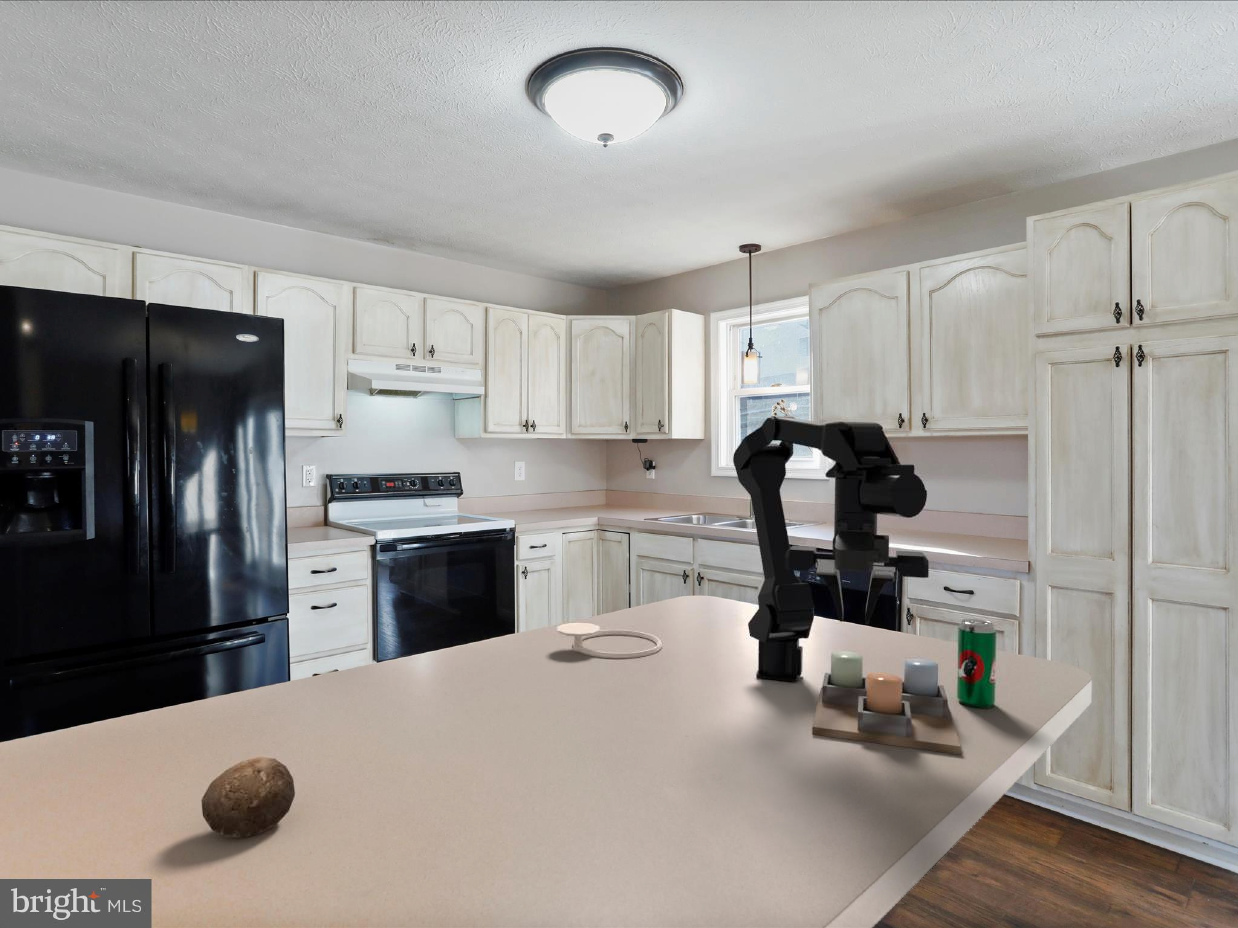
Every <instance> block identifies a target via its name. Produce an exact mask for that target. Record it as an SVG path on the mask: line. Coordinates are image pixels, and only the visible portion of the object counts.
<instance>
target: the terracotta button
mask: <svg viewBox="0 0 1238 928" xmlns="http://www.w3.org/2000/svg"><path fill="white" fill-rule="evenodd" d="M866 677H867V691H866V707H867V708H868V709H869V710H871V711H873V712H877V713H884V714H898V713H901V712H902V681H903V679H902V677H900V676H898V675H895V674H891V673H886V672H885V673H884V672H872V673H869V674H866Z"/></svg>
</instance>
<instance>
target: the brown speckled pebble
mask: <svg viewBox="0 0 1238 928" xmlns="http://www.w3.org/2000/svg"><path fill="white" fill-rule="evenodd" d="M294 783H295V781H294V777H293V776H292V774H291V772H290V771H289V769H288V767H287V766H286V765H284V764H283V763H282V762H280V761H279V760H277V759H276V758H274V757H273V758H272V757H265V756H264V757H262V756H258V757H254V758H250V759H246V760H242V761H240V762H238V763H236V764H235V765H233V766H231V767H229V768H228V769H226V770H224V771H223V772H222V773H221V774H220V775H219V776H217V777H216V778H215V779H213V780H212V781H211V782H210V784H209V785H208V787H207V789H206V791H205V792H204V795H203V796H202V799H201V810H202V811H201V812H202V817H203V818H204V820H205V822H206V823H207V824H208V826H209V828H210V829H211V830H212V831H214V832H216V833H217V834H220V835H221V836H224V837H227V838H242V839H243V838H247V837H250V836H255V835H258V834H261V833H264V832H265V831H267V830H269V829H272V828H273V827H275V826H276V825H278V824H279V823H280V821H282V819H283V818H284V817H285V816H286V815H287V814H288V813H289V811H290V809H291V807H292V805H293V801H294V799H295V797H296V795H295V794H296V791H295V790H296V789H295V784H294Z"/></svg>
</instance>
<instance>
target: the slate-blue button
mask: <svg viewBox="0 0 1238 928" xmlns="http://www.w3.org/2000/svg"><path fill="white" fill-rule="evenodd" d="M903 664H904V665H903V667H904V668H903V669H904V670H903V671H904V672H903V681H904V690H905V691H906V692H907V693H910V694H913V695H920V696H935V695H937V694H938V685H939V664H938V662H936V661H933V660H929V659H924V658H918V657H917V658H907V659H905V660H904V663H903Z"/></svg>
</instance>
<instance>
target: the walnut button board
mask: <svg viewBox="0 0 1238 928" xmlns="http://www.w3.org/2000/svg"><path fill="white" fill-rule="evenodd" d="M866 691H867V676H862V686H861V687H857V688H850V687H841V686H836V685H834V684H832V683H831V672H825V673H824V676H823V681H822V687H820V690H819V695H818V698H817V703H816V708H815V713H814V716H813V717H814V718H813V723H812V725H811V726H812V727H811V730H812V731H811V735H814V736H815V735H816V736H824V737H830V738H831V737H832V738H837V739H838V738H839V739H844V740H845V739H846V740H852V741H860V742H868V743H874V744H880V745H881V744H882V745H889V746H895V747H896V746H897V747H904V748H912V749H918V750H924V751H925V750H926V751H934V752H939V753H940V752H941V753H946V754H947V753H948V754H955V755H961V752H962V750H961V747H962V746H961V743H960V740H959V736H958V732H957V729H956V726H955V722H954V719H953V716H952V712H951V709H950V706H949V703H948V701H949V699H948V696H947V693H946V689H945V686H944V685H942V684H938V694H937V695H935V696H920V695H913V694H910V693H907V692H906V691H905V690H904V680H902V712H901V713H898V714H884V713H877V712H873V711H871V710H869V709H868V708H867V707H866Z"/></svg>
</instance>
